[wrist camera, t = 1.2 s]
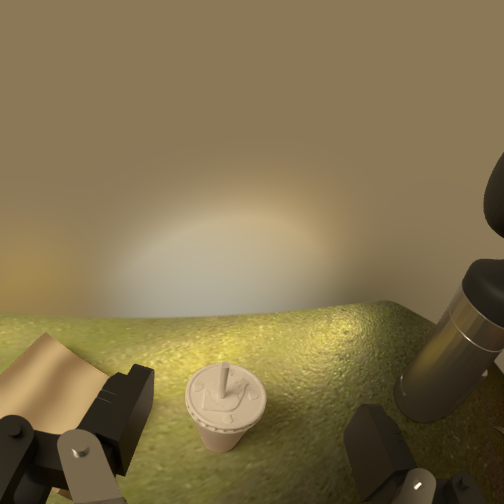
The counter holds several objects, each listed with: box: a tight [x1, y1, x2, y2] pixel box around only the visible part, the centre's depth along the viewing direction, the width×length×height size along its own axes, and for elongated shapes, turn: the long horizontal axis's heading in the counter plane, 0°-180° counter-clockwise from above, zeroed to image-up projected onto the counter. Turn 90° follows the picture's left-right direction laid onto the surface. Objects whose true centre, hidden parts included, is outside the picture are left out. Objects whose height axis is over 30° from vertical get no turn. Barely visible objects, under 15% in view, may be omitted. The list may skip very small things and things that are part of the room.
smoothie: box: [185, 362, 267, 453], centre depth 22 cm, size 6×6×14 cm
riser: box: [0, 332, 110, 501], centre depth 21 cm, size 14×14×4 cm
